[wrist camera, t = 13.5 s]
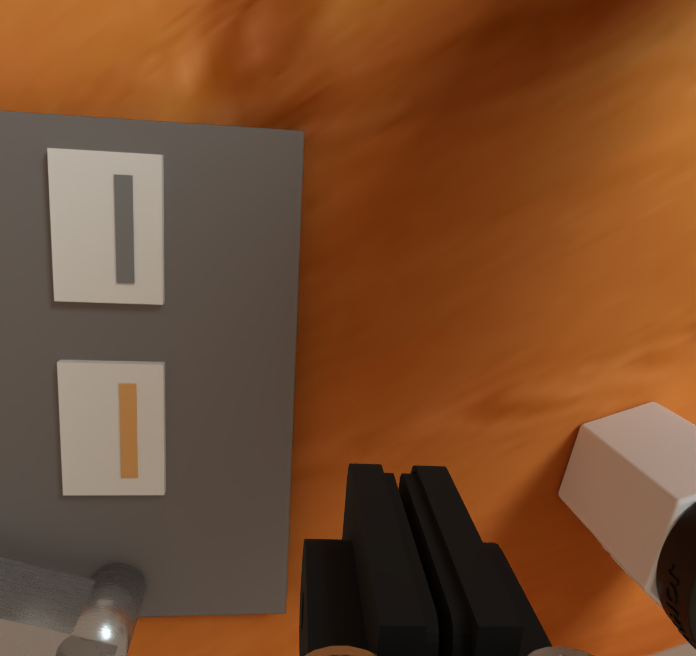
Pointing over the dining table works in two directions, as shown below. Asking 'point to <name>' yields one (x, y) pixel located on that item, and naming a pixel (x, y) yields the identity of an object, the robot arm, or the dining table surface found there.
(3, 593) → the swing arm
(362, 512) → the robot arm
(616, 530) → the jar
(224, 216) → the label board
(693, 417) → the dining table surface
